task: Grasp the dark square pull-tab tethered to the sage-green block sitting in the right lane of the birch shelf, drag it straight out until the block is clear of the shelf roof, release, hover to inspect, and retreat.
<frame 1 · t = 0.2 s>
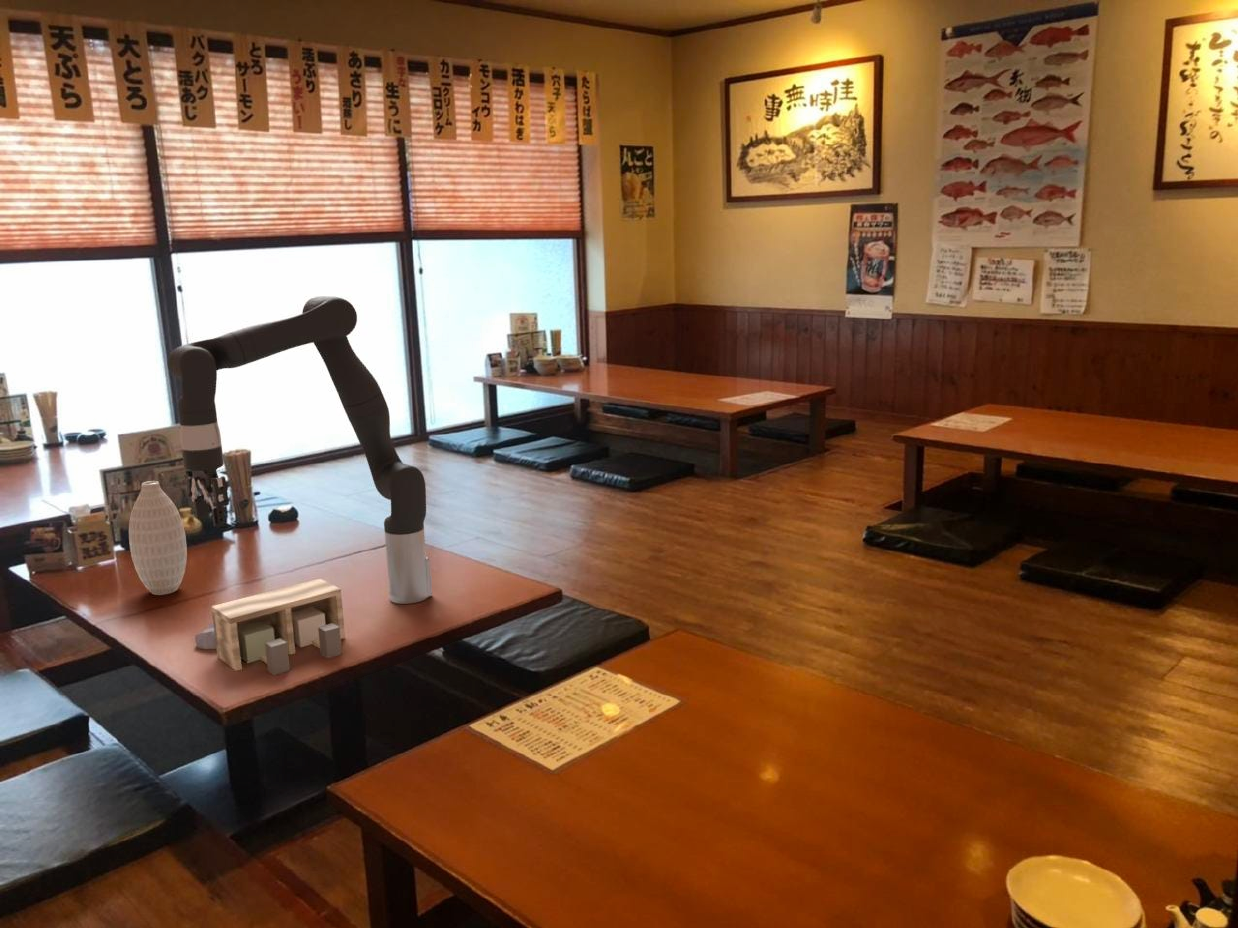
hand: (210, 522, 203), 29 cm above the table, fingers open, 8 cm apart
sage block: (256, 654, 207), on the table
shelf: (282, 646, 211), on the table
vase: (164, 591, 249), on the table
cream block: (307, 639, 215), on the table
stone block: (226, 640, 217), on the table
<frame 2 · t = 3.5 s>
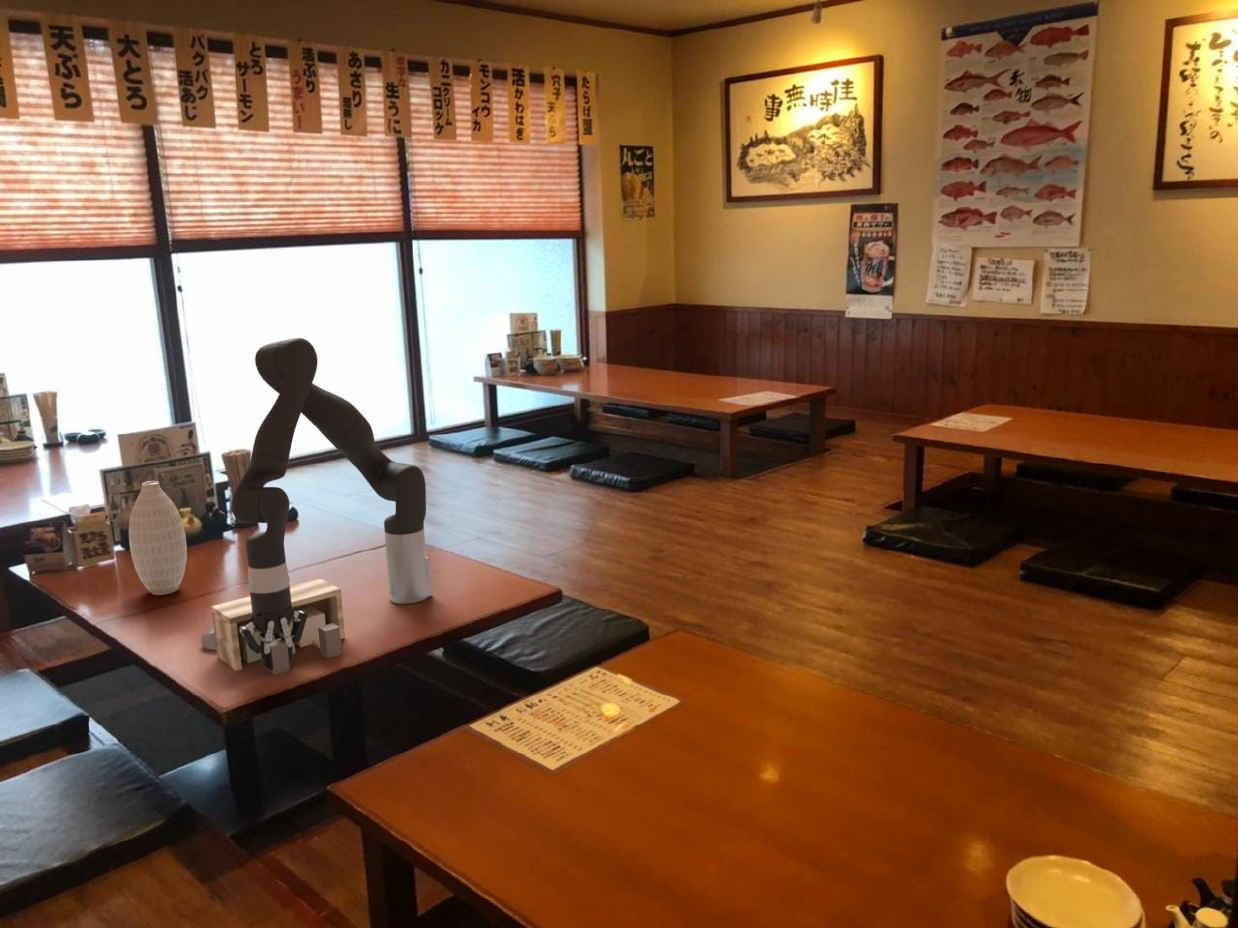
hand: (278, 665, 199), 1 cm above the table, fingers closed on sage block, 3 cm apart
sage block: (256, 654, 207), on the table, touching gripper
stone block: (232, 641, 216), on the table
everything else where it was.
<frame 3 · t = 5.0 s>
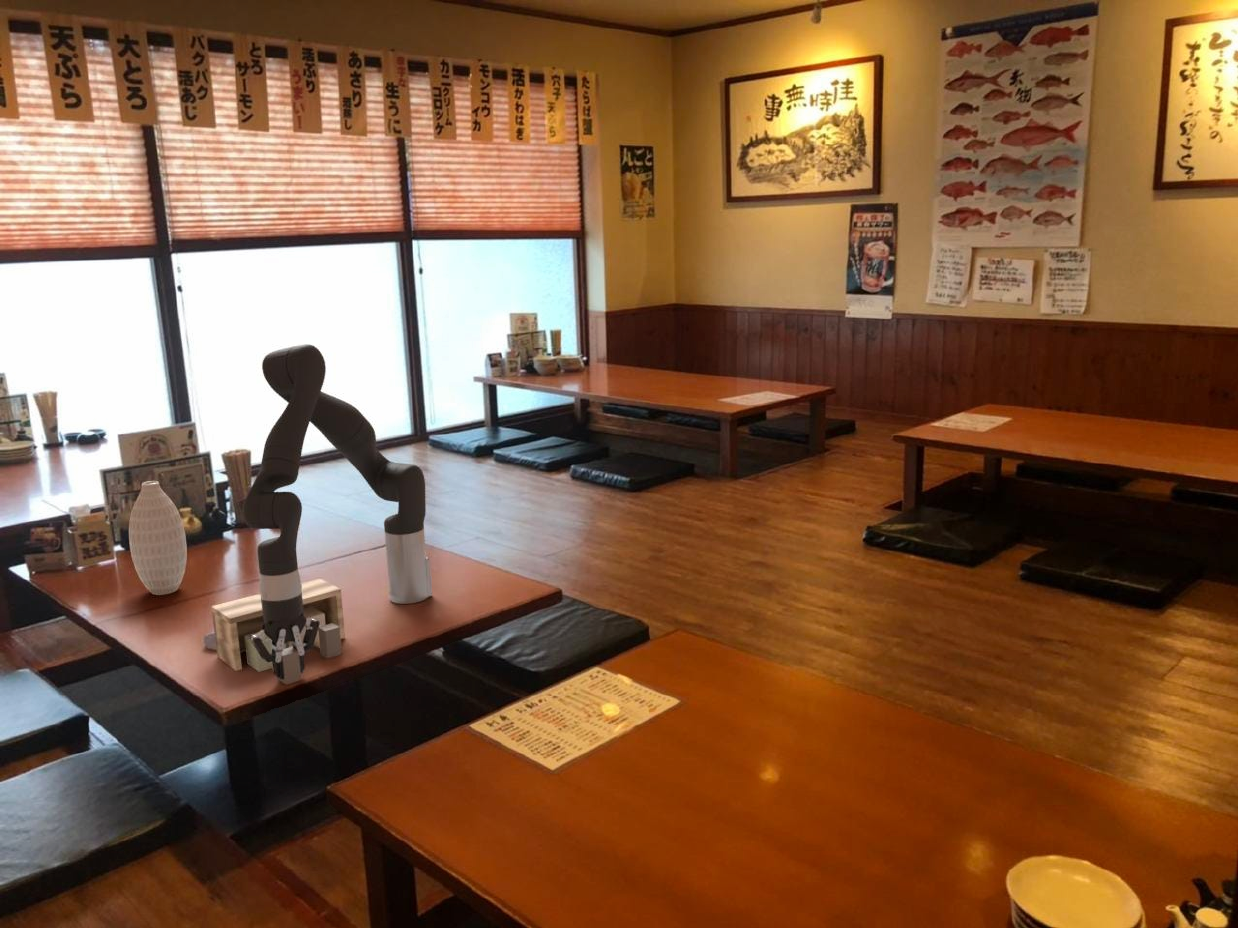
hand: (289, 674, 194), 1 cm above the table, fingers closed on sage block, 3 cm apart
sage block: (267, 663, 203), on the table, touching gripper
when the fingers open (1 cm above the table, at t = 6.9 s): sage block stays where it is, on the table.
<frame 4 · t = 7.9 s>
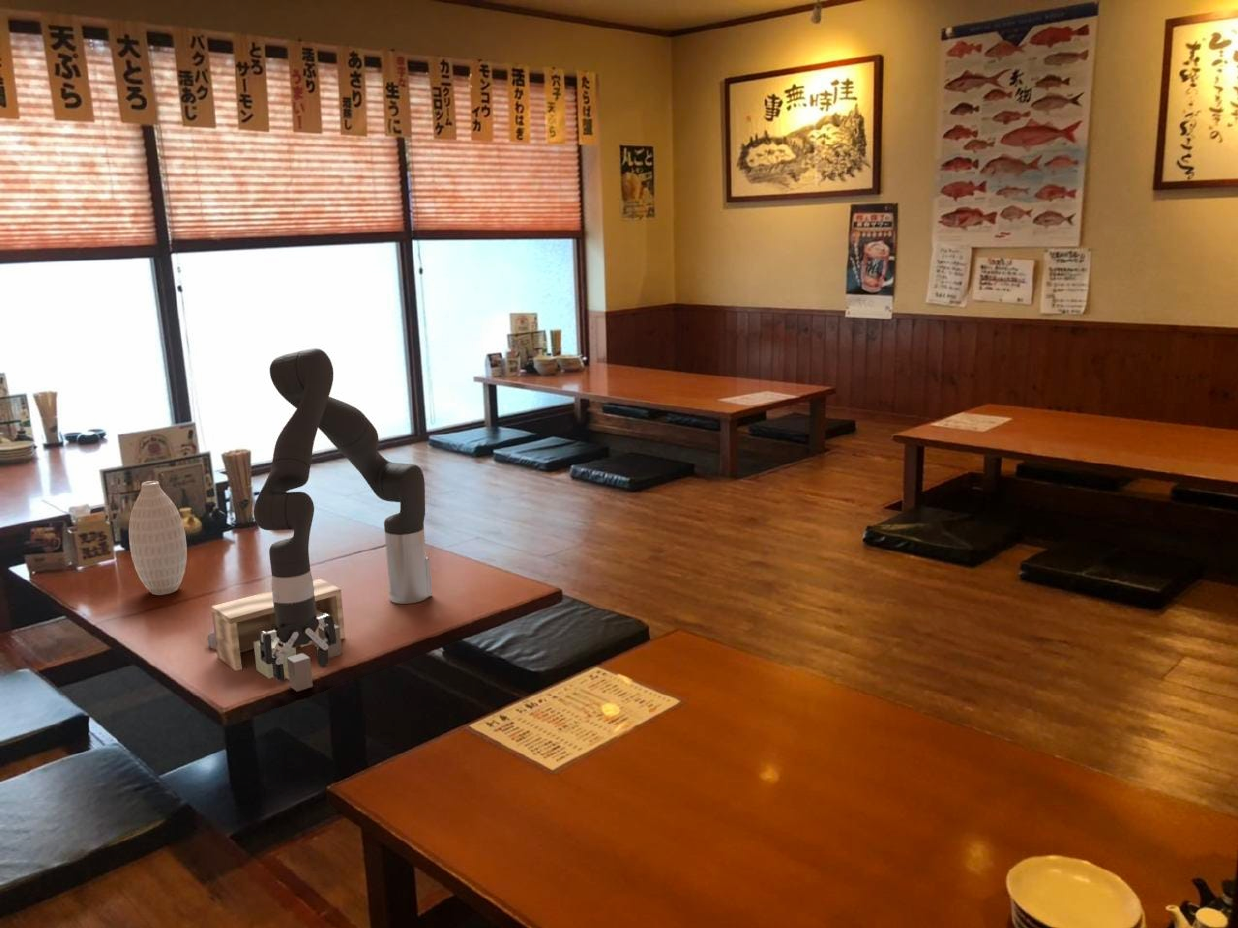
hand: (302, 673, 191), 3 cm above the table, fingers open, 8 cm apart
sage block: (277, 669, 199), on the table
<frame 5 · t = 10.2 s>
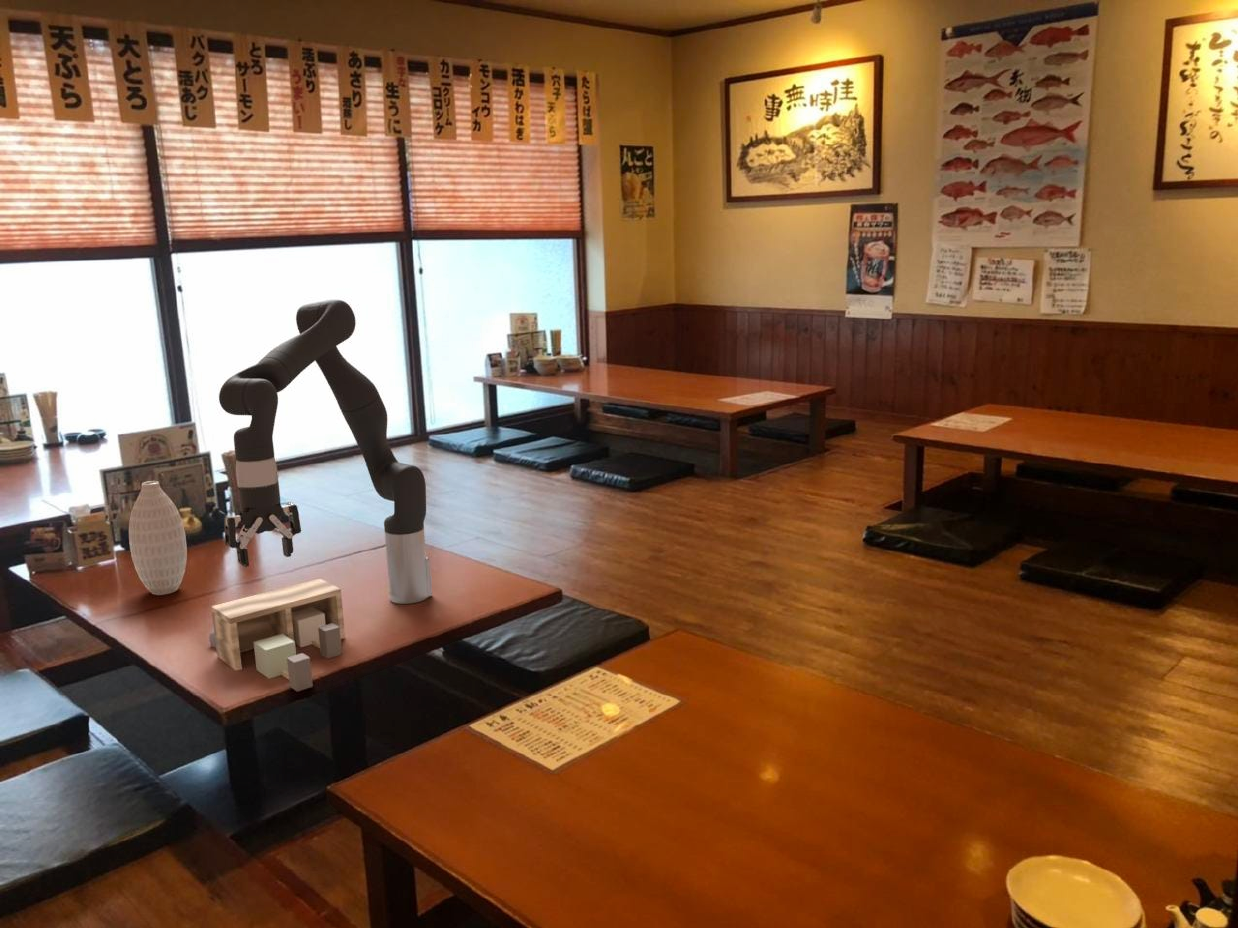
hand: (266, 560, 194), 23 cm above the table, fingers open, 8 cm apart
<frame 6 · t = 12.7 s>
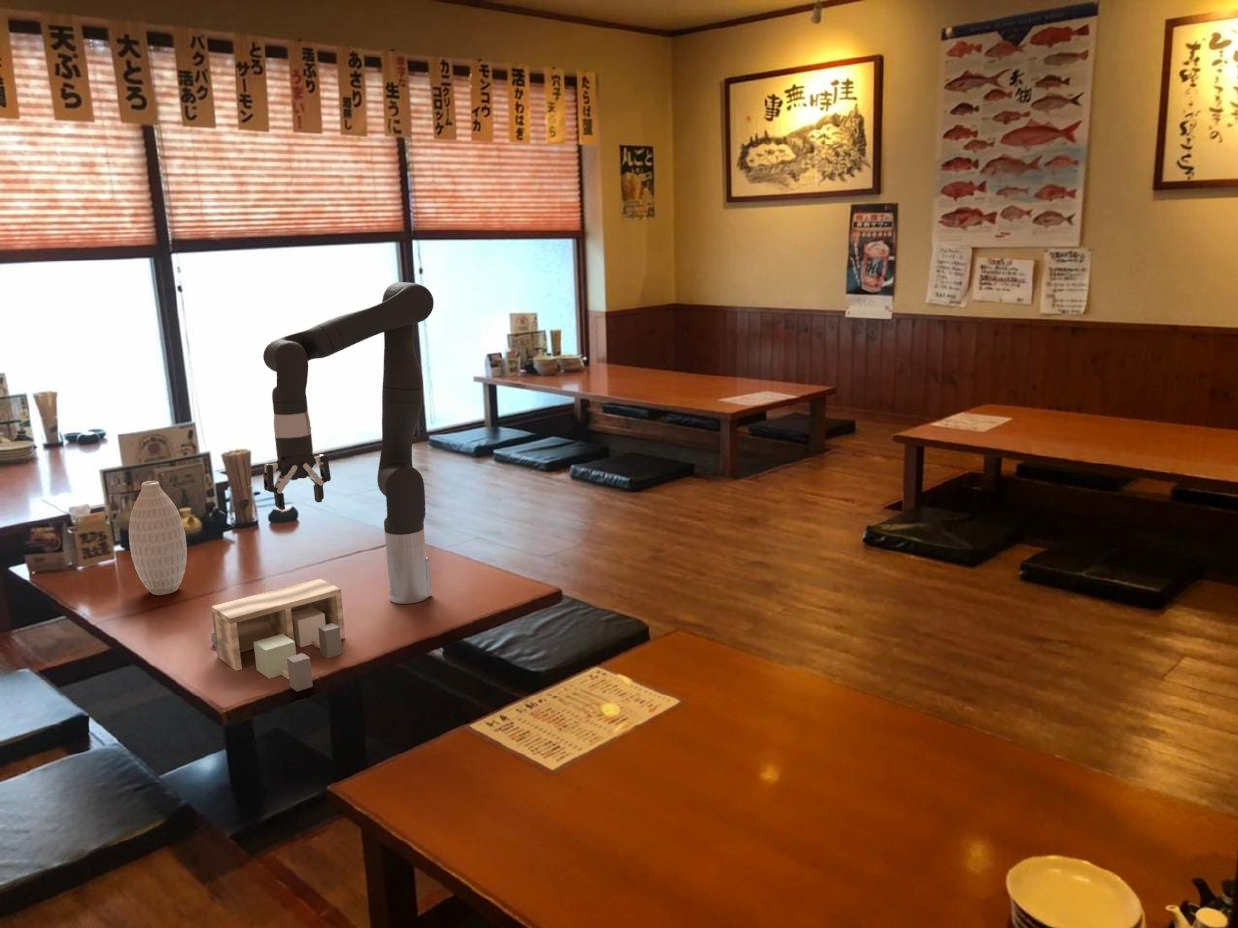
hand: (300, 505, 216), 28 cm above the table, fingers open, 8 cm apart
at the end: sage block inside the target area on the table beside the shelf (3.2 cm from its centre), on the table; sage block tilted 0°; the gripper is holding nothing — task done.
